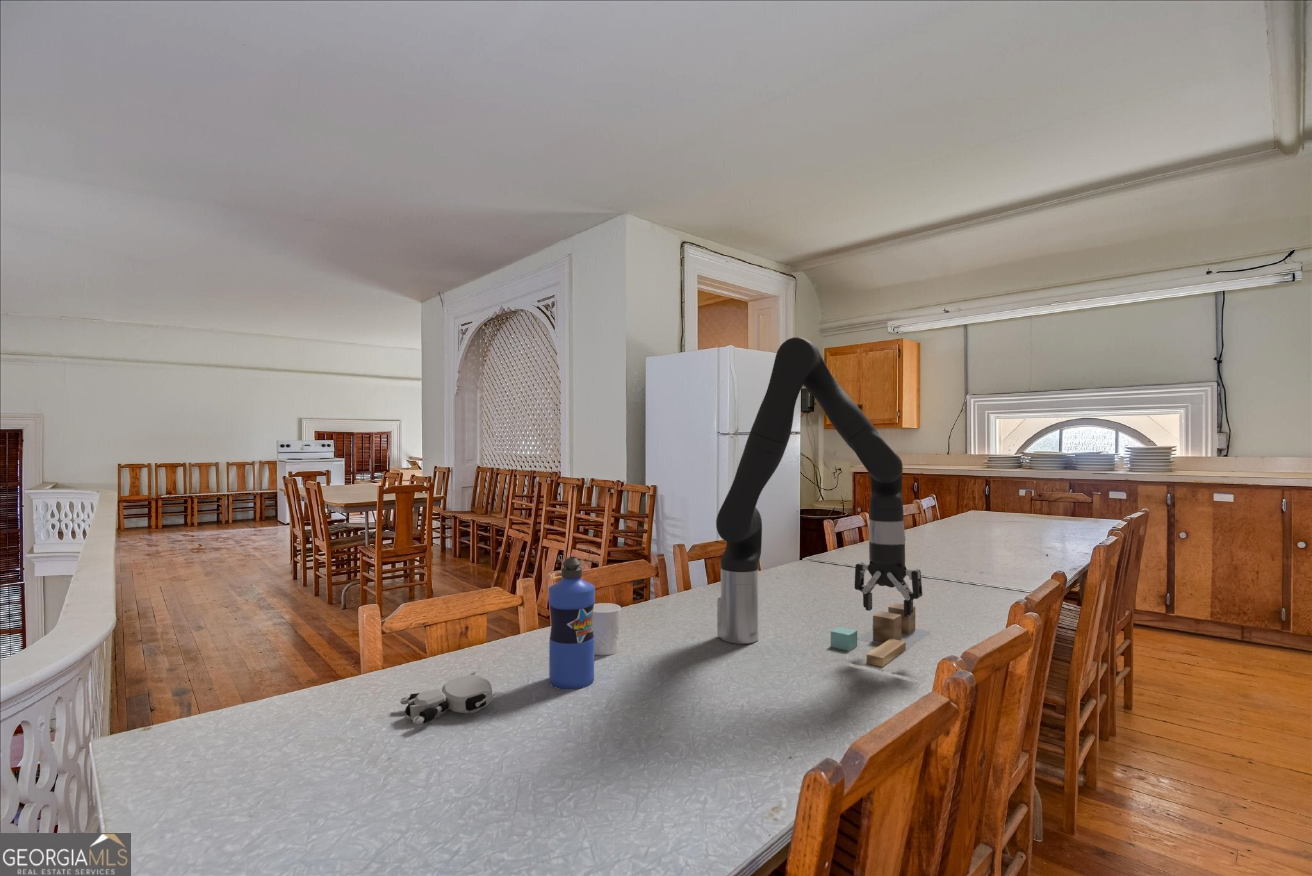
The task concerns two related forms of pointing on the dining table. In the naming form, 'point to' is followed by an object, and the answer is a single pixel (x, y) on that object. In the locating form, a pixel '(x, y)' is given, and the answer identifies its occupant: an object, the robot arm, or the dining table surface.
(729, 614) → the robot arm
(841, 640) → the cube
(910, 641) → the board
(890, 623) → the pillar
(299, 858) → the dining table surface
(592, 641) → the water bottle
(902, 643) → the plank
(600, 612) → the white cup
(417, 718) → the robot toy
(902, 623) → the pillar
